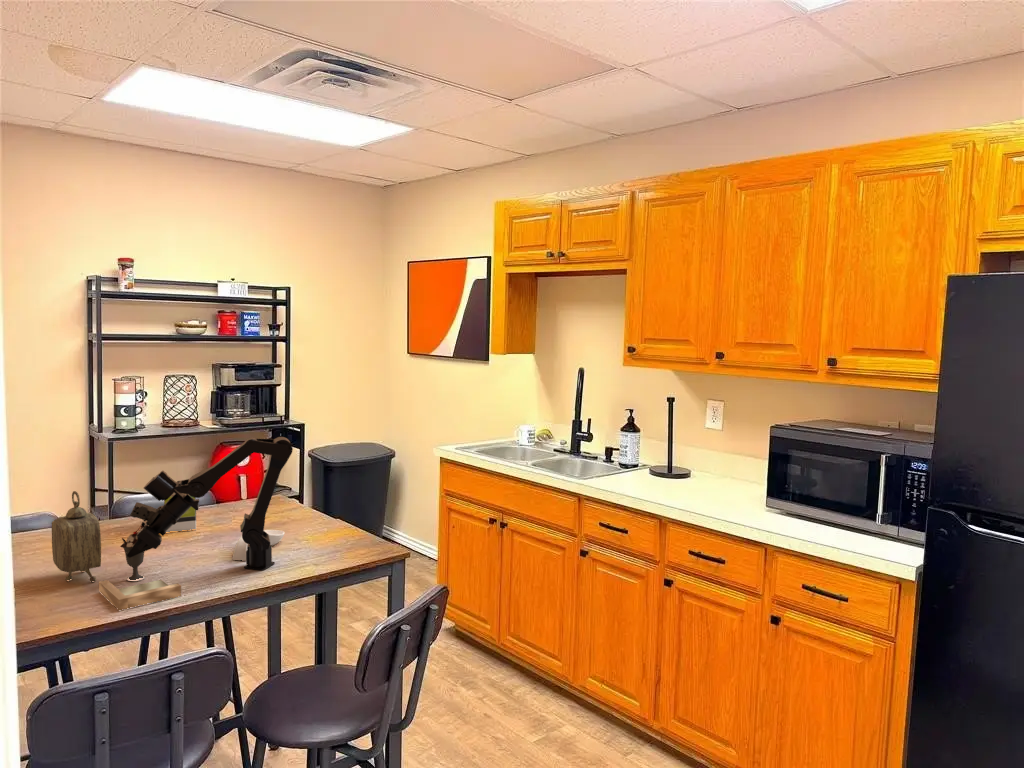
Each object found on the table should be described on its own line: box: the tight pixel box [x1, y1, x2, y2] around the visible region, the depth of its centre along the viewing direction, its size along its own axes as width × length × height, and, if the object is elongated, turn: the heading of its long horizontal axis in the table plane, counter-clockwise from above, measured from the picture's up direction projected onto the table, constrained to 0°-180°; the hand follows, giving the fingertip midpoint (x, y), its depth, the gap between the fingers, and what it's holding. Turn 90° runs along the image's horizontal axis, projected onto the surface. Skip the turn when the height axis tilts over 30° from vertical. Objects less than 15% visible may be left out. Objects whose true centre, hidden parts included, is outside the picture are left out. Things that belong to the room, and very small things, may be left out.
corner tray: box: [98, 579, 182, 611], centre depth 192 cm, size 15×17×3 cm
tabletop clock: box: [51, 490, 102, 583], centre depth 202 cm, size 14×9×25 cm, turn 43°
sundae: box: [120, 525, 145, 580], centre depth 203 cm, size 7×7×15 cm
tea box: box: [163, 493, 197, 532], centre depth 255 cm, size 15×10×15 cm
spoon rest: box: [232, 529, 285, 562], centre depth 232 cm, size 24×12×7 cm, turn 174°
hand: (129, 552), depth 203 cm, fingers closed on sundae, 6 cm apart
